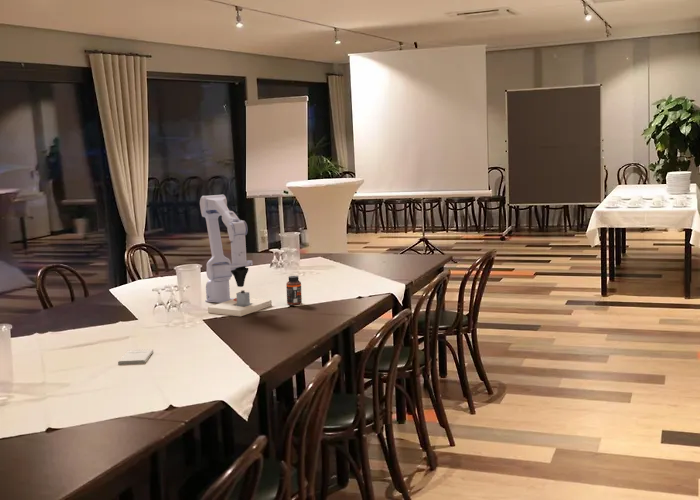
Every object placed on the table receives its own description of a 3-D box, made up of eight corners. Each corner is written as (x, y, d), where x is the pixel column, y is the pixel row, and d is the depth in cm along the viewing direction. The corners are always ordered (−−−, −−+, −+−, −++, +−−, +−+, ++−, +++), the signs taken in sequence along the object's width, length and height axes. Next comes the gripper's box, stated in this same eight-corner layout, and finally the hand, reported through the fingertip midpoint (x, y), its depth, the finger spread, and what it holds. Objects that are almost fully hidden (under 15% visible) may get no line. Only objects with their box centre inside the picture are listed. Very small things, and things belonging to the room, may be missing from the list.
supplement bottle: (299, 305, 309) (298, 277, 307) (285, 305, 310) (284, 277, 308) (303, 302, 314) (302, 275, 313) (289, 302, 316) (288, 275, 314)
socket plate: (208, 312, 302) (207, 305, 301) (240, 302, 319) (239, 295, 318) (240, 316, 294) (240, 308, 293) (271, 305, 311) (271, 298, 310)
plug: (237, 310, 304) (236, 291, 303) (242, 308, 306) (241, 289, 305) (245, 311, 302) (244, 291, 301) (250, 309, 304) (249, 290, 303)
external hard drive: (118, 366, 236) (127, 354, 248) (145, 365, 236) (153, 353, 248) (117, 361, 236) (127, 349, 248) (145, 359, 236) (153, 348, 248)
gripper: (235, 255, 293) (236, 290, 295) (258, 249, 305) (259, 283, 307) (220, 254, 296) (222, 289, 298) (243, 249, 309) (245, 282, 311)
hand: (240, 286), depth 303 cm, fingers closed
